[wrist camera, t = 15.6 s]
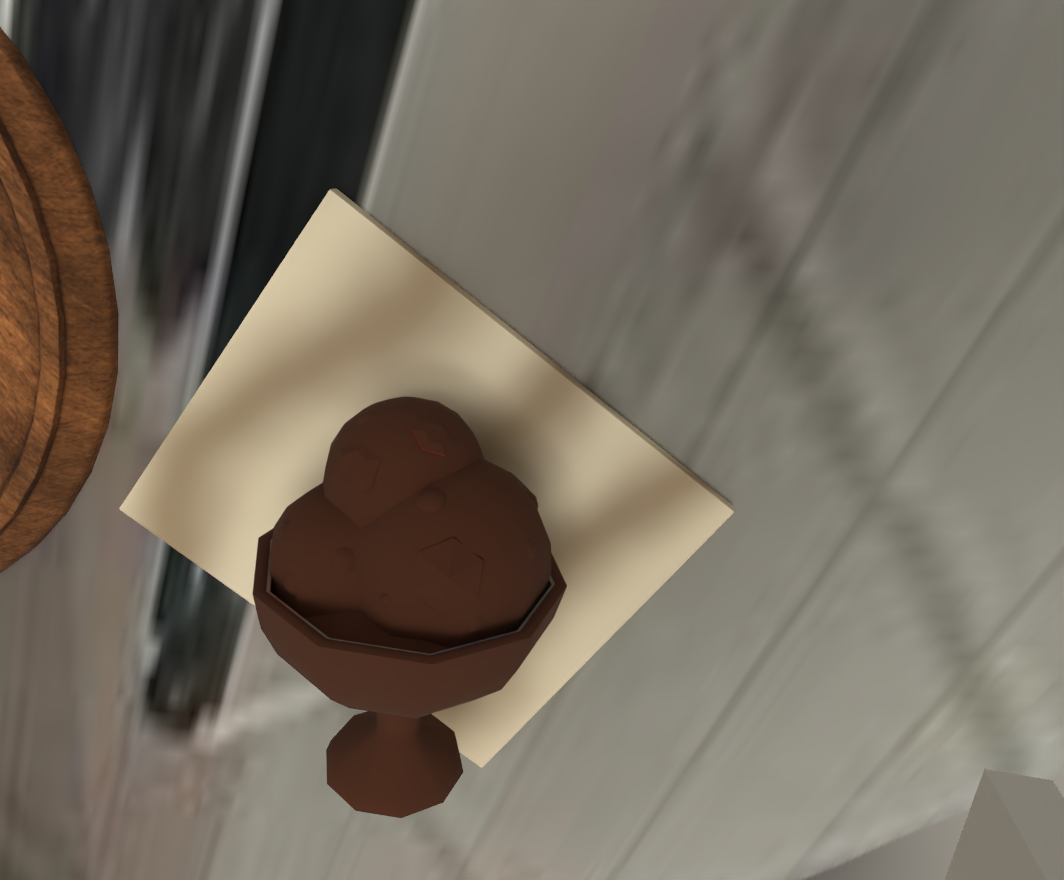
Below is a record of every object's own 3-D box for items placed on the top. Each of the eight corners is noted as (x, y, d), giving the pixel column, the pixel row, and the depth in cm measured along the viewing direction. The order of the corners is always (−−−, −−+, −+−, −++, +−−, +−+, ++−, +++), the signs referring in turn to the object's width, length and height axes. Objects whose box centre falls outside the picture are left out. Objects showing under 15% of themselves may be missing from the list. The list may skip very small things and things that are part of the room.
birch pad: (731, 504, 34) (734, 512, 33) (484, 756, 39) (481, 767, 39) (336, 188, 32) (330, 189, 31) (129, 501, 37) (119, 508, 36)
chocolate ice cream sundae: (187, 806, 30) (170, 429, 24) (359, 641, 40) (377, 343, 34) (446, 937, 27) (501, 539, 21) (565, 723, 37) (625, 409, 31)
